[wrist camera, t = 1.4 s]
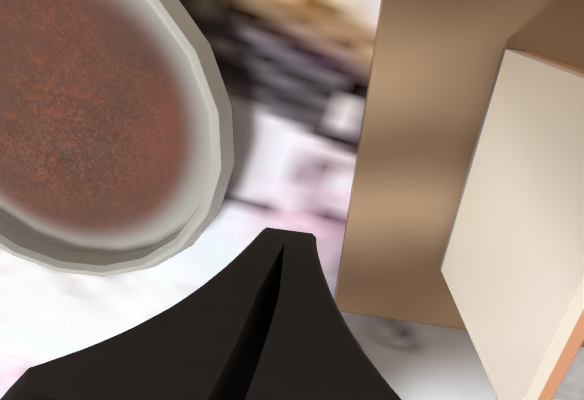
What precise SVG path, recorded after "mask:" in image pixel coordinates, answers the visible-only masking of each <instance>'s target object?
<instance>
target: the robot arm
mask: <svg viewBox="0 0 584 400" xmlns="http://www.w3.org/2000/svg"><path fill="white" fill-rule="evenodd" d="M0 400H401V399H400V397H399V396H398V395H397V394H396V393H395V392H394V391H393V389H392V388H391V387H390V386H389V385H388V384H387V382H386V381H385V380H384V378H383V377H382V376H381V374H380V373H379V372H378V370H377V369H376V368H375V366H374V365H373V364H372V362H371V361H370V360H369V358H368V357H367V356H366V354H365V353H364V352H363V350H362V349H361V347H360V345H359V344H358V342H357V341H356V339H355V338H354V336H353V335H352V333H351V331H350V330H349V328H348V326H347V324H346V323H345V321H344V319H343V317H342V315H341V313H340V311H339V309H338V307H337V305H336V303H335V301H334V299H333V297H332V294H331V292H330V290H329V287H328V285H327V282H326V279H325V276H324V274H323V271H322V268H321V264H320V261H319V257H318V252H317V247H316V237H315V236H314V235H313V234H311V233H303V232H296V231H288V230H281V229H273V228H265V229H264V230H263V231H262V232H261V233H260V234H259V235H258V236H257V237H256V238H255V239H254V240H253V241H252V242H251V243H250V244H249V245H248V246H247V247H246V248H245V249H244V250H243V251H242V252H241V253H240V254H239V255H238V256H237V257H236V258H235V259H234V260H233V261H232V262H231V263H230V264H228V265H227V266H226V267H225V268H224V269H223V270H222V271H220V272H219V273H218V274H217V275H215V276H214V277H213V278H212V279H210V280H209V281H208V282H207V283H205V284H204V285H203V286H202V287H200V288H199V289H198V290H196V291H195V292H193V293H192V294H191V295H189V296H188V297H186V298H185V299H183V300H182V301H180V302H179V303H177V304H175V305H174V306H172V307H171V308H169V309H167V310H165V311H163V312H162V313H160V314H158V315H156V316H154V317H152V318H151V319H149V320H147V321H145V322H143V323H141V324H140V325H138V326H136V327H134V328H131V329H129V330H127V331H125V332H123V333H121V334H119V335H116V336H114V337H112V338H109V339H107V340H105V341H102V342H100V343H98V344H95V345H93V346H90V347H88V348H85V349H83V350H80V351H77V352H74V353H71V354H69V355H66V356H63V357H60V358H57V359H54V360H52V361H49V362H46V363H43V364H40V365H37V366H34V367H31V368H29V369H28V370H27V371H26V372H25V373H24V374H23V375H22V376H21V377H20V378H19V379H18V380H17V381H16V382H15V383H14V384H13V385H12V386H11V388H10V389H9V390H8V391H7V392H6V393H5V395H4V396H3V397H2V398H1V399H0Z"/></svg>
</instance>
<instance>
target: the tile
mask: <svg viewBox="0 0 584 400" xmlns="http://www.w3.org/2000/svg"><path fill="white" fill-rule="evenodd" d="M440 269H441V272H442V274H443V276H444V278H445V281H446V283H447V285H448V288H449V290H450V292H451V294H452V297H453V299H454V301H455V303H456V306H457V308H458V310H459V313H460V315H461V317H462V319H463V322H464V324H465V326H466V329H467V331H468V333H469V335H470V338H471V340H472V342H473V344H474V347H475V349H476V351H477V354H478V356H479V358H480V360H481V363H482V365H483V367H484V370H485V372H486V374H487V376H488V379H489V381H490V383H491V385H492V388H493V390H494V392H495V395H496V397H497V399H498V400H552V398H553V397H554V395H555V393H556V391H557V389H558V387H559V385H560V383H561V382H562V380H563V378H564V376H565V374H566V372H567V370H568V368H569V366H570V365H571V363H572V361H573V359H574V357H575V355H576V353H577V351H578V350H579V348H580V346H581V344H582V342H583V340H584V71H583V70H581V69H578V68H575V67H572V66H569V65H566V64H563V63H560V62H557V61H555V60H552V59H549V58H546V57H543V56H540V55H537V54H534V53H531V52H529V51H526V50H522V49H516V48H503V49H502V52H501V56H500V59H499V63H498V66H497V70H496V73H495V77H494V80H493V84H492V87H491V90H490V94H489V97H488V101H487V104H486V108H485V111H484V115H483V118H482V122H481V125H480V128H479V132H478V135H477V139H476V142H475V146H474V149H473V153H472V156H471V160H470V163H469V166H468V170H467V173H466V177H465V180H464V184H463V187H462V191H461V194H460V197H459V201H458V204H457V208H456V211H455V215H454V218H453V222H452V225H451V229H450V232H449V235H448V239H447V242H446V246H445V249H444V253H443V256H442V260H441V263H440Z"/></svg>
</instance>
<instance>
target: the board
mask: <svg viewBox="0 0 584 400" xmlns="http://www.w3.org/2000/svg"><path fill="white" fill-rule="evenodd" d="M503 48H516V49H522V50H526V51H529V52H531V53H534V54H537V55H540V56H543V57H546V58H549V59H552V60H555V61H557V62H560V63H563V64H566V65H569V66H572V67H575V68H578V69H581V70H583V71H584V0H381V6H380V12H379V19H378V25H377V31H376V38H375V44H374V50H373V57H372V63H371V69H370V76H369V82H368V88H367V95H366V101H365V107H364V114H363V120H362V126H361V133H360V139H359V145H358V152H357V158H356V164H355V171H354V177H353V183H352V190H351V196H350V203H349V209H348V215H347V222H346V228H345V234H344V241H343V247H342V253H341V260H340V266H339V272H338V279H337V285H336V291H335V300H334V301H335V303H336V305H337V307H338V309H339V311H342V312H349V313H355V314H362V315H369V316H376V317H383V318H389V319H396V320H403V321H410V322H416V323H423V324H430V325H437V326H443V327H450V328H457V329H464V330H467V329H466V326H465V324H464V322H463V319H462V317H461V315H460V313H459V310H458V308H457V306H456V303H455V301H454V299H453V297H452V294H451V292H450V290H449V288H448V285H447V283H446V281H445V278H444V276H443V274H442V272H441V269H440V263H441V260H442V256H443V253H444V249H445V246H446V242H447V239H448V235H449V232H450V229H451V225H452V222H453V218H454V215H455V211H456V208H457V204H458V201H459V197H460V194H461V191H462V187H463V184H464V180H465V177H466V173H467V170H468V166H469V163H470V160H471V156H472V153H473V149H474V146H475V142H476V139H477V135H478V132H479V128H480V125H481V122H482V118H483V115H484V111H485V108H486V104H487V101H488V97H489V94H490V90H491V87H492V84H493V80H494V77H495V73H496V70H497V66H498V63H499V59H500V56H501V52H502V49H503ZM580 347H584V340H583V342H582V344H581V346H580Z"/></svg>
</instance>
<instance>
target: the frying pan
mask: <svg viewBox="0 0 584 400" xmlns="http://www.w3.org/2000/svg"><path fill="white" fill-rule="evenodd" d="M233 167H234V142H233V115H232V105H231V102H230V99H229V97H228V94H227V91H226V88H225V85H224V82H223V80H222V77H221V74H220V71H219V68H218V65H217V62H216V60H215V57H214V54H213V51H212V48H211V45H210V43H209V42H208V41H207V39H206V38H205V36H204V35H203V34H202V32H201V31H200V29H199V28H198V26H197V25H196V24H195V22H194V21H193V19H192V18H191V17H190V15H189V14H188V12H187V11H186V9H185V8H184V7H183V5H182V4H181V2H180V1H179V0H0V247H1V248H2V249H4V250H6V251H7V252H9V253H10V254H12V255H14V256H16V257H19V258H22V259H25V260H27V261H30V262H33V263H36V264H39V265H41V266H44V267H47V268H50V269H52V270H55V271H58V272H65V273H74V274H83V275H93V276H102V277H105V276H110V275H116V274H121V273H127V272H132V271H137V270H143V269H148V268H151V267H155V266H157V265H159V264H161V263H162V262H164V261H166V260H168V259H169V258H171V257H173V256H175V255H176V254H178V253H180V252H182V251H183V250H185V249H187V248H189V247H190V246H192V245H193V244H194V243H195V241H196V240H197V239H198V238H199V236H200V235H201V234H202V233H203V231H204V230H205V229H206V228H207V226H208V225H209V224H210V223H211V221H212V220H213V219H214V218H215V217H216V215H217V214H218V213H219V212H220V209H221V205H222V202H223V199H224V196H225V193H226V189H227V186H228V183H229V180H230V177H231V174H232V170H233Z"/></svg>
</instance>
